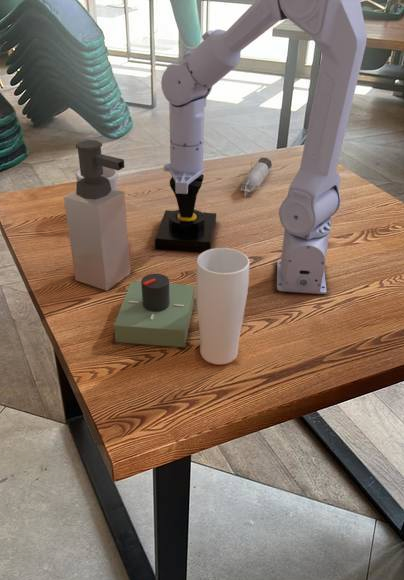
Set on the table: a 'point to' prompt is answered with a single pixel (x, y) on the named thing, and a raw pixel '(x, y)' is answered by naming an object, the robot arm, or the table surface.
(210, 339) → the drinking glass
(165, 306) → the dial
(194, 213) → the button
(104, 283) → the soap dispenser
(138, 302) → the dial panel
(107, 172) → the cup
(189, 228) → the button block
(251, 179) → the clear plastic bottle
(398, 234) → the table surface
